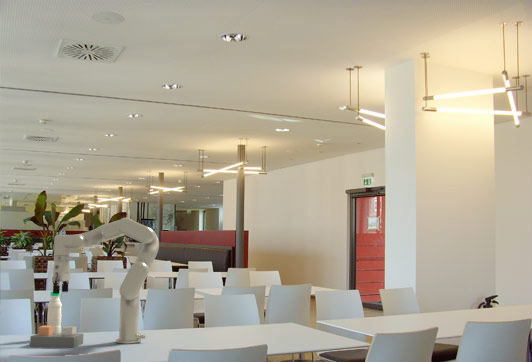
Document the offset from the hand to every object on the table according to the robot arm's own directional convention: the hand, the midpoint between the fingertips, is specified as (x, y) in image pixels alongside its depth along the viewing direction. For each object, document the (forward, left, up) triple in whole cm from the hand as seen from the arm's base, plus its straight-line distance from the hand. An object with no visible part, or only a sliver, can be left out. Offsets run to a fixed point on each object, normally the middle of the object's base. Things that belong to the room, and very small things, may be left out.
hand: (60, 292), depth 312 cm
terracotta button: (+4, +6, -21) cm, 22 cm away
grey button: (-8, +6, -21) cm, 23 cm away
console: (-2, +6, -25) cm, 26 cm away
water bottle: (+7, -10, -26) cm, 28 cm away
